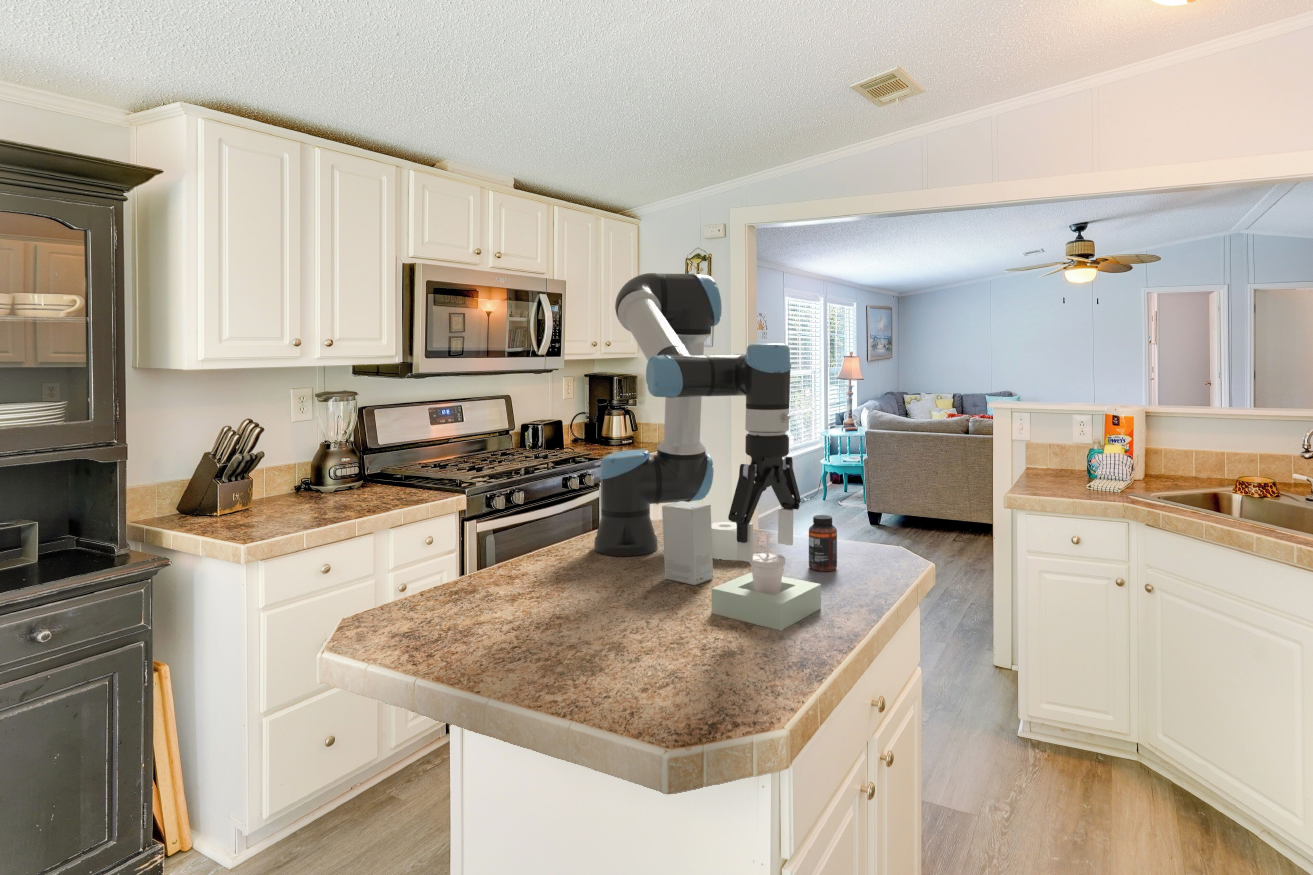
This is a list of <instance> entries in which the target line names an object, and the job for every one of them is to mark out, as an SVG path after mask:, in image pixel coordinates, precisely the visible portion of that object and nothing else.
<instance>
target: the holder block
mask: <svg viewBox="0 0 1313 875" xmlns="http://www.w3.org/2000/svg"><path fill="white" fill-rule="evenodd" d="M821 609H822V583H817V582H812V581H807V580H802V579H797V578H792V577H787V576H783V575H782V581H781V589H780V593H778V594H776V595H770V594H765V593H761V592H756V591H754V584H753V576H752V571H751V572H749V573H745V574H743V575H741V576H739V577H736V578H734V579H731V580H729V581H726V582H723V583H721V584H719V585H716V586H714V587H712V588H711V614H713V615H718V616H722V617H725V618H730V619H734V620H737V621H741V622H745V623H749V624H753V625H758V626H761V627H764V628H769V629H773V630H777V631H780V632H781V631H783V630H785V629H786V628H788V627H790V626H792V625H793V624H795V623H798V622H799V621H801V620H803V619H805V618H806V617H807V618H808V616H810V615H812V614H814V613H815V612H817V611H819V610H821Z"/></svg>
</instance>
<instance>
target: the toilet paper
mask: <svg viewBox="0 0 1313 875" xmlns="http://www.w3.org/2000/svg"><path fill="white" fill-rule="evenodd" d="M711 531H712V558H714V560H719V559H722V560H723V561H739V560H738V559H737V524H736V522H731V521H717V522H711ZM756 533H757V532H756V531H753V555H754V554H757V552H756V551H757V550H756V549H757V548H756V547H757V543H756V542H757V541H756V540H757V534H756ZM740 561H743V560H740ZM743 562H744V561H743Z"/></svg>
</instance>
